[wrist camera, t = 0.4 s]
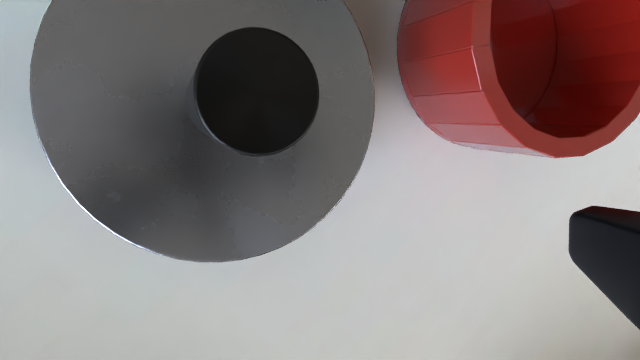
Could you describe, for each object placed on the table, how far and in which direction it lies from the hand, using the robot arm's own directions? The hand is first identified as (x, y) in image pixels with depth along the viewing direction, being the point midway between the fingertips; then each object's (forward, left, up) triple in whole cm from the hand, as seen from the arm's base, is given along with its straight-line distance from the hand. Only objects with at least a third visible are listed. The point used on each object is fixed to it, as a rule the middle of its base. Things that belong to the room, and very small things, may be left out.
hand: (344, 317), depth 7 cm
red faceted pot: (+2, -16, -14) cm, 21 cm away
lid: (+4, -1, -11) cm, 12 cm away
